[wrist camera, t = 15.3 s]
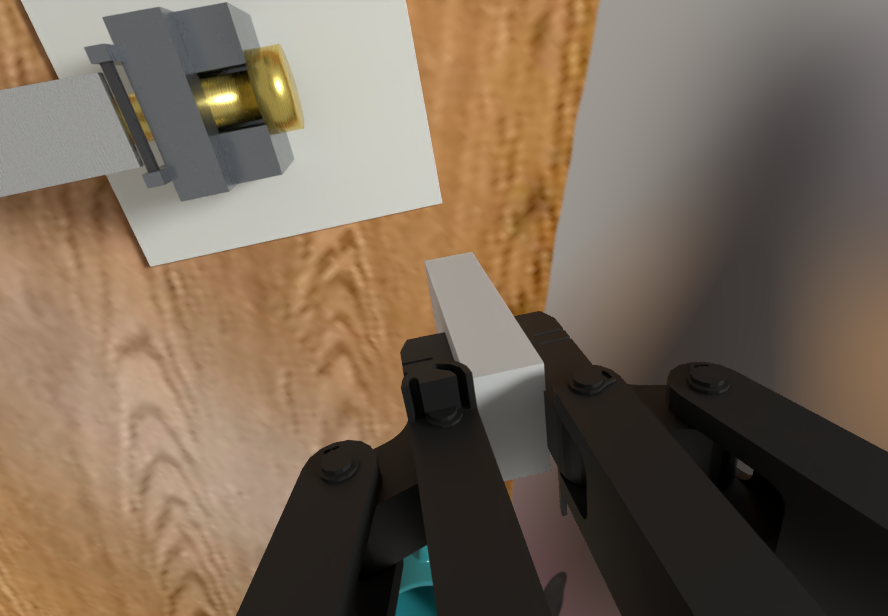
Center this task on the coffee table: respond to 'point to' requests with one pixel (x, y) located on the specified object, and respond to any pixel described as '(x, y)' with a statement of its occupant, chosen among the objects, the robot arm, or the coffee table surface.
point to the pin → (250, 94)
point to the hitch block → (188, 97)
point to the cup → (416, 586)
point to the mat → (314, 148)
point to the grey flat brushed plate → (61, 134)
